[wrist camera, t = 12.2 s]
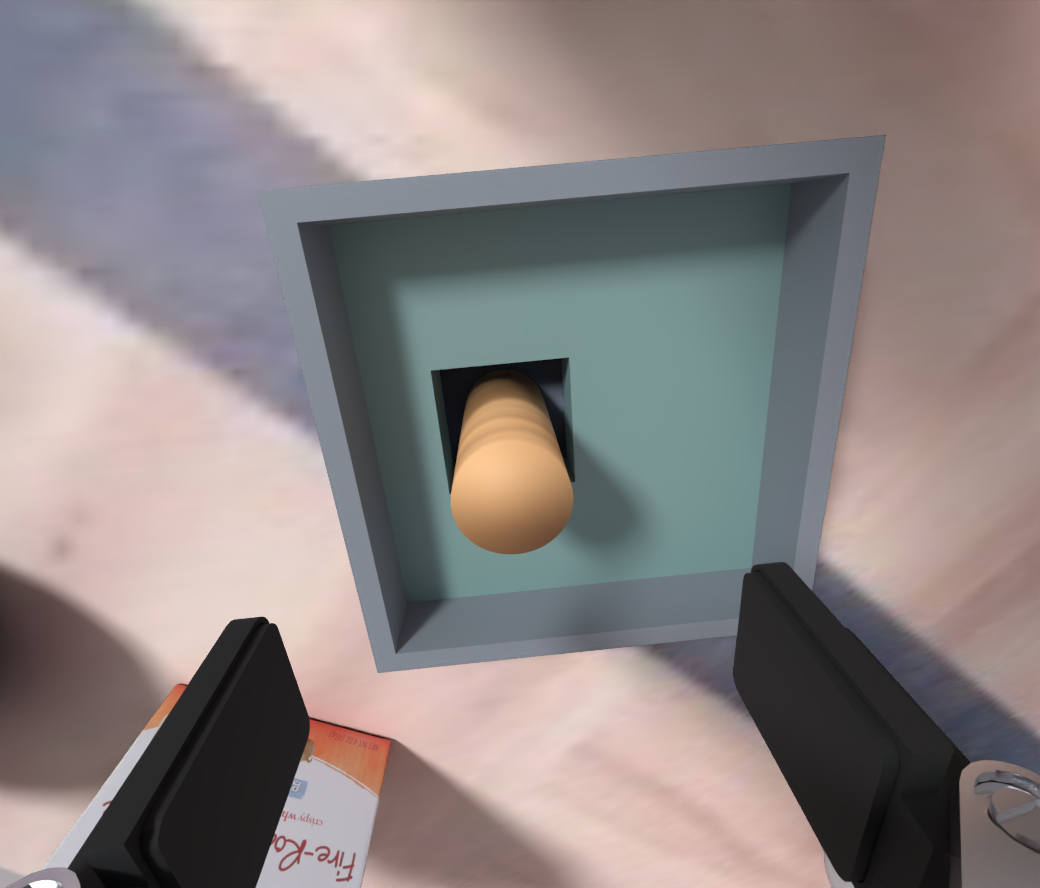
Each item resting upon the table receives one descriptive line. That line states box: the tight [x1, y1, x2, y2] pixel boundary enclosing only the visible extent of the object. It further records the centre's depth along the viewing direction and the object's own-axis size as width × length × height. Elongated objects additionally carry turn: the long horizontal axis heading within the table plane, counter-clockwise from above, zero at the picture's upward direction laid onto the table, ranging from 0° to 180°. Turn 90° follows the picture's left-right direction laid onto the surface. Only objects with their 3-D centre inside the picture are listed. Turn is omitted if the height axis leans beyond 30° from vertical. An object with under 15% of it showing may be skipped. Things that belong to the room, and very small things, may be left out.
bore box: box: [257, 135, 886, 673], centre depth 23 cm, size 20×20×6 cm
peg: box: [450, 369, 573, 555], centre depth 21 cm, size 4×4×10 cm
